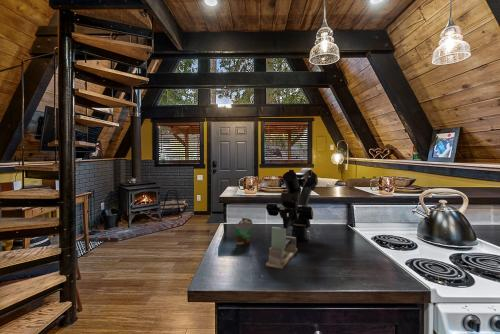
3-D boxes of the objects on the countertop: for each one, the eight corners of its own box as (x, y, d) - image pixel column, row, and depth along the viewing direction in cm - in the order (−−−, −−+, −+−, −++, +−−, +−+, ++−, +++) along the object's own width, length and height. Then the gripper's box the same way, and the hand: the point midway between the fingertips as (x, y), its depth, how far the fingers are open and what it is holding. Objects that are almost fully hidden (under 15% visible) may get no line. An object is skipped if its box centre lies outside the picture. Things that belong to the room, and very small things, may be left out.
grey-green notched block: (273, 253, 101) (273, 226, 101) (286, 255, 99) (286, 227, 99) (270, 256, 99) (270, 228, 98) (283, 258, 97) (284, 229, 96)
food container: (249, 248, 115) (250, 224, 114) (235, 247, 116) (235, 223, 116) (255, 239, 127) (255, 218, 126) (242, 238, 128) (242, 217, 128)
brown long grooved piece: (283, 248, 114) (283, 234, 114) (297, 250, 112) (297, 235, 111) (265, 265, 96) (266, 248, 96) (282, 268, 94) (282, 250, 93)
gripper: (267, 183, 114) (257, 215, 104) (312, 186, 106) (305, 220, 96) (273, 199, 121) (264, 230, 111) (316, 202, 113) (310, 236, 104)
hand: (284, 229), depth 105 cm, fingers closed
